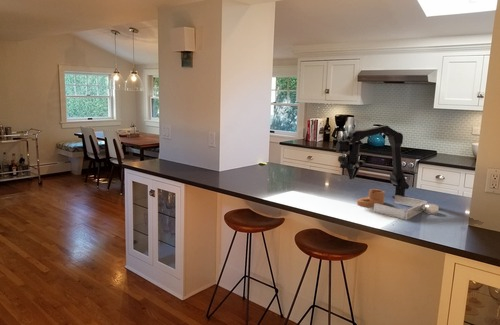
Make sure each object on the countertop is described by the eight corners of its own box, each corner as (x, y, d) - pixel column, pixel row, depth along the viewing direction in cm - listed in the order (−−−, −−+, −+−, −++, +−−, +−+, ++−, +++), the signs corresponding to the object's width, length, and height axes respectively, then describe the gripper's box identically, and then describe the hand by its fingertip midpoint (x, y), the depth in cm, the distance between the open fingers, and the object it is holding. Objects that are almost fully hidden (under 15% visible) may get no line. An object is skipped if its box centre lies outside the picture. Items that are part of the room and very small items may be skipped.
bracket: (374, 200, 219) (375, 188, 218) (386, 203, 213) (387, 191, 212) (353, 204, 209) (354, 192, 208) (366, 208, 203) (367, 196, 201)
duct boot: (395, 202, 215) (395, 194, 214) (426, 209, 203) (427, 201, 202) (373, 211, 196) (374, 203, 195) (406, 219, 184) (407, 211, 183)
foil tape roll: (426, 210, 202) (427, 203, 201) (439, 212, 197) (440, 205, 197) (422, 212, 197) (423, 205, 196) (435, 215, 193) (436, 208, 192)
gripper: (349, 149, 227) (347, 174, 230) (332, 152, 214) (331, 178, 216) (366, 151, 219) (364, 177, 222) (350, 154, 206) (348, 182, 209)
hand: (351, 179), depth 218 cm, fingers closed
